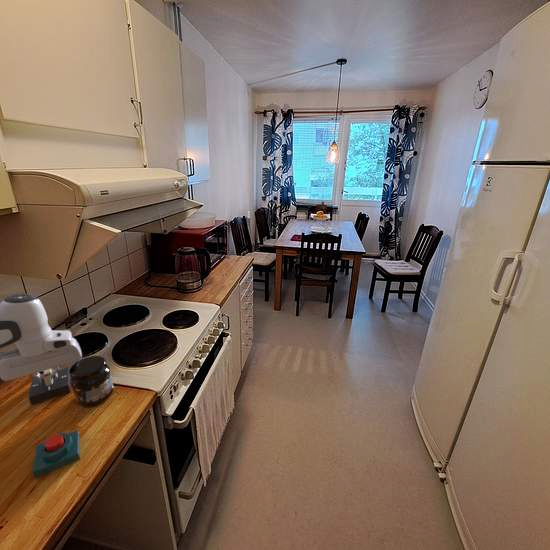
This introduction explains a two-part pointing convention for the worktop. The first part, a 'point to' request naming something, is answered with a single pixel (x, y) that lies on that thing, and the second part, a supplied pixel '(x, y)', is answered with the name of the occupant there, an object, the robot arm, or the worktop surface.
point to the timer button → (54, 443)
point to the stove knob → (48, 377)
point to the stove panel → (50, 387)
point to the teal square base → (57, 454)
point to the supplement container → (91, 381)
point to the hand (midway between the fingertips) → (49, 379)
